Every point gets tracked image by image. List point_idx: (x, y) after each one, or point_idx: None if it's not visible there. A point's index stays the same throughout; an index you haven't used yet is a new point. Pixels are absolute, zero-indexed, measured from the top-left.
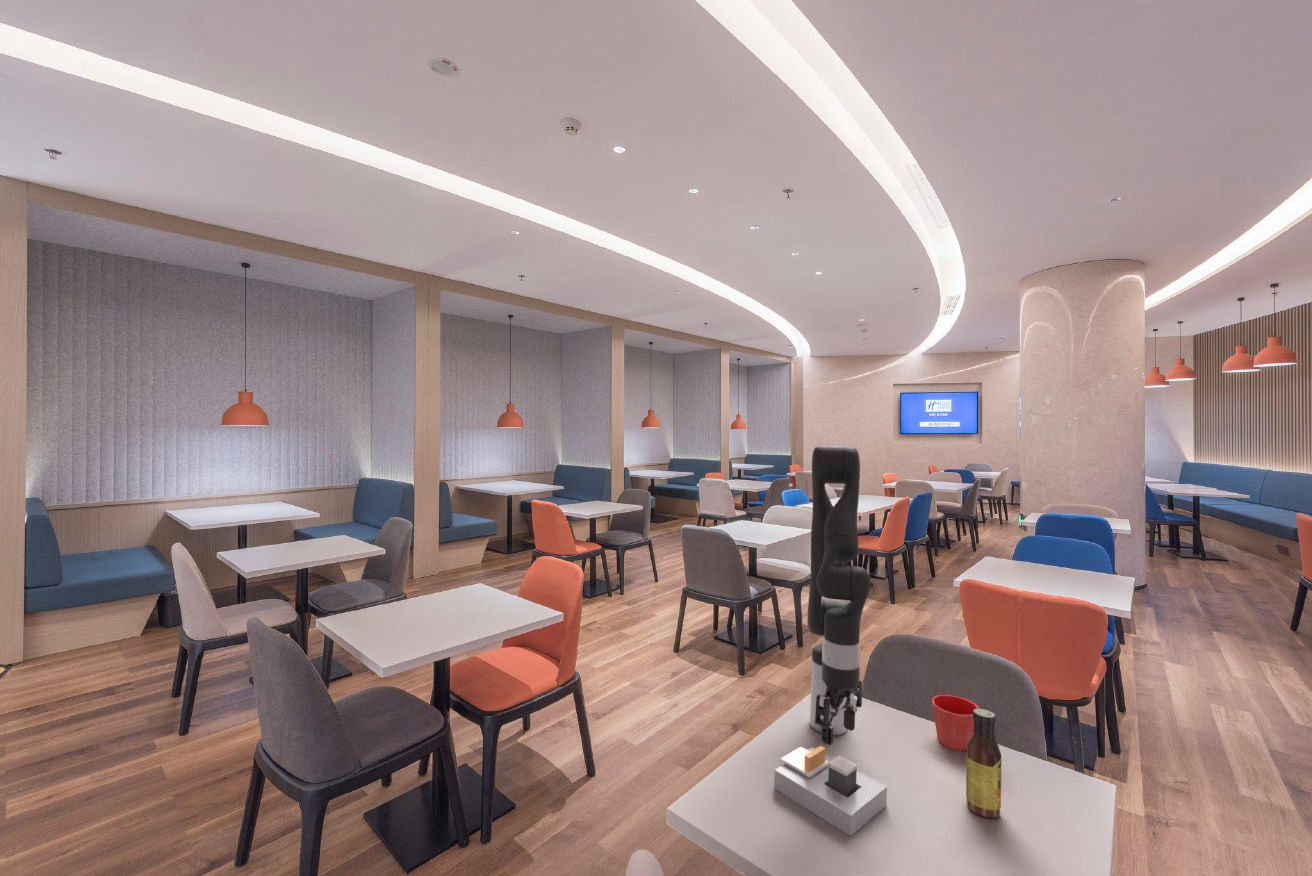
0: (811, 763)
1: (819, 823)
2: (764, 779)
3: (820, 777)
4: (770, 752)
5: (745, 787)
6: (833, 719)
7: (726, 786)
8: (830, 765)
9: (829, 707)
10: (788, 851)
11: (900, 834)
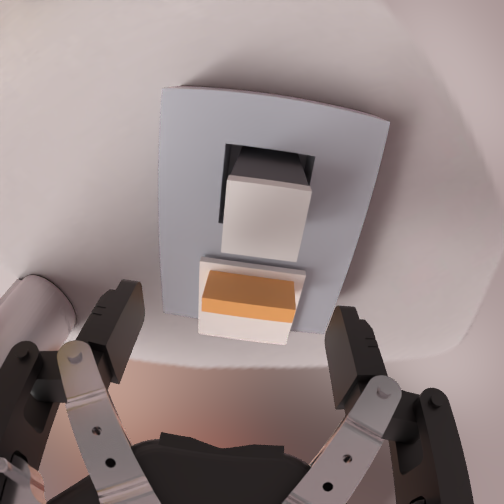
0: (283, 294)
1: None
2: None
3: None
4: (209, 349)
5: None
6: (376, 421)
7: None
8: (297, 251)
9: (445, 501)
10: (473, 208)
11: (270, 19)
